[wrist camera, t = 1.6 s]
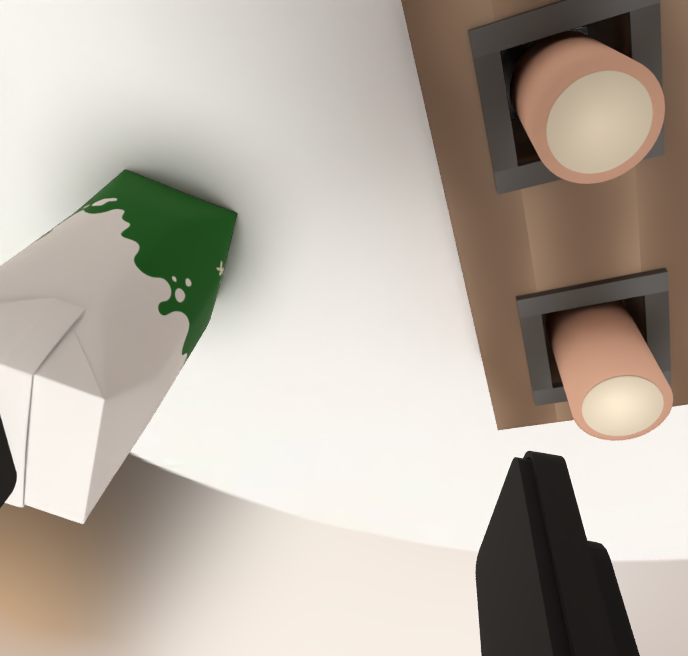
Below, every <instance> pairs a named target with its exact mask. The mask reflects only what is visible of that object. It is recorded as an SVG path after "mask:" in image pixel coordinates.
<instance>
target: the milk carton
mask: <svg viewBox="0 0 688 656" xmlns="http://www.w3.org/2000/svg"><path fill="white" fill-rule="evenodd" d="M236 217H237V213H234V212H232V211H229V210H227V209H224V208H222V207H219V206H217V205H214V204H211V203H209V202H206V201H204V200H201V199H199V198H196V197H194V196H191V195H189V194H186V193H184V192H181V191H178V190H176V189H173V188H171V187H168V186H166V185H163V184H161V183H158V182H156V181H153V180H150V179H148V178H145V177H143V176H140V175H138V174H135V173H133V172H130V171H128V170H124V171H123V172H121V173H120V174H119V175H118V176H117V177H116V178H114V179H113V180H112V181H111V182H110V183H109V184H108V185H106V186H105V187H104V188H103V189H102V190H101V191H99V192H98V193H97V194H96V195H95V196H94V197H93V198H91V199H90V200H89V201H88V202H87V203H86V204H84V205H83V206H82V207H81V208H80V209H79V210H77V211H76V212H75V213H74V214H72V215H71V216H69V217H68V218H67V219H65V220H64V221H63V222H61V223H60V224H58V225H57V226H56V227H54V228H53V229H52V230H50V231H49V232H47V233H46V234H45V235H43V236H42V237H40V238H39V239H38V240H36V241H35V242H33V243H32V244H31V245H29V246H28V247H27V248H25V249H24V250H22V251H21V252H20V253H18V254H17V255H15V256H14V257H13V258H11V259H10V260H8V261H7V262H6V263H4V264H3V265H1V266H0V416H1V419H2V423H3V426H4V430H5V433H6V437H7V440H8V444H9V447H10V451H11V454H12V458H13V462H14V465H15V469H16V472H17V482H16V485H15V488H14V490H13V492H12V493H11V495H10V496H9V497H8V499H7V500H6V501H5V503H8V504H11V505H14V506H17V507H24V505H28V506H31V507H34V508H37V509H40V510H43V511H46V512H48V513H51V514H54V515H57V516H61V517H63V518H66V519H69V520H72V521H75V522H78V523H81V524H84V522H85V520H86V519H87V517H88V516H89V514H90V512H91V511H92V509H93V508H94V506H95V505H96V503H97V501H98V500H99V498H100V497H101V495H102V493H103V492H104V490H105V489H106V487H107V486H108V484H109V483H110V481H111V480H112V478H113V476H114V475H115V473H116V472H117V470H118V469H119V467H120V466H121V464H122V463H123V461H124V460H125V458H126V457H127V455H128V454H129V452H130V451H131V449H132V448H133V446H134V445H135V443H136V442H137V440H138V439H139V437H140V435H141V434H142V432H143V431H144V429H145V428H146V426H147V425H148V423H149V421H150V420H151V418H152V417H153V415H154V413H155V412H156V410H157V408H158V407H159V405H160V403H161V402H162V400H163V398H164V397H165V395H166V394H167V392H168V390H169V389H170V387H171V385H172V384H173V382H174V380H175V379H176V377H177V375H178V374H179V372H180V370H181V369H182V367H183V365H184V364H185V362H186V360H187V359H188V357H189V356H190V354H191V352H192V351H193V349H194V347H195V346H196V344H197V342H198V341H199V339H200V337H201V336H202V334H203V332H204V331H205V329H206V327H207V325H208V323H209V321H210V318H211V315H212V311H213V308H214V304H215V301H216V297H217V294H218V290H219V286H220V283H221V279H222V275H223V271H224V267H225V263H226V259H227V255H228V250H229V246H230V242H231V238H232V234H233V229H234V225H235V221H236Z"/></svg>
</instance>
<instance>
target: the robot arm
mask: <svg viewBox="0 0 688 656" xmlns="http://www.w3.org/2000/svg"><path fill="white" fill-rule="evenodd" d="M16 482H17V472H16V469H15V465H14V462H13V458H12V454H11V451H10V447H9V444H8V440H7V437H6V433H5V430H4V426H3V423H2V419H1V416H0V507H1V506H2V505H3V504H4V503H5V501H6V500H7V499H8V497H9V496H10V495H11V493H12V492H13V490H14V488H15V485H16ZM476 586H477V598H478V599H477V600H478V611H479V627H480V640H481V653H482V656H640V655H639V652H638V649H637V645H636V642H635V639H634V635H633V632H632V629H631V626H630V623H629V619H628V616H627V612H626V609H625V606H624V603H623V599H622V596H621V593H620V590H619V586H618V583H617V579H616V576H615V573H614V569H613V566H612V563H611V559H610V557H609V555H608V552H607V550H606V549H605V547H604V546H603V545H602V544H600V543H597V542H592V541H587V538H586V535H585V531H584V527H583V524H582V520H581V516H580V513H579V509H578V505H577V502H576V498H575V494H574V490H573V487H572V483H571V479H570V476H569V472H568V468H567V465H566V462H565V459H564V458H563V457H562V456H558V455H552V454H546V453H540V452H533V451H527V452H526V453H525V455H524V458H517V457H515V458H514V459H513V461H512V463H511V466H510V468H509V471H508V474H507V476H506V479H505V482H504V485H503V487H502V490H501V493H500V495H499V498H498V501H497V504H496V506H495V509H494V512H493V515H492V517H491V520H490V523H489V525H488V528H487V531H486V534H485V536H484V539H483V542H482V544H481V547H480V550H479V553H478V556H477V561H476Z"/></svg>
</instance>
